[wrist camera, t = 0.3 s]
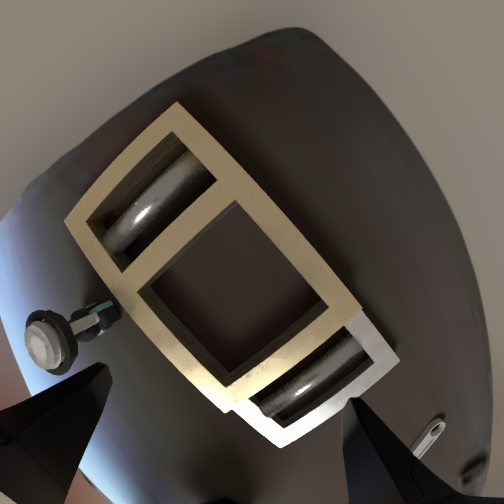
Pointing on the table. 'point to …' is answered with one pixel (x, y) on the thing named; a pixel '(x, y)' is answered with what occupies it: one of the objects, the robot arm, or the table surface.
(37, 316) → the push button
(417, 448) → the adjustable wrench
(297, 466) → the table surface
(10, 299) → the table surface
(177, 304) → the table surface
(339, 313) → the cream double window frame
